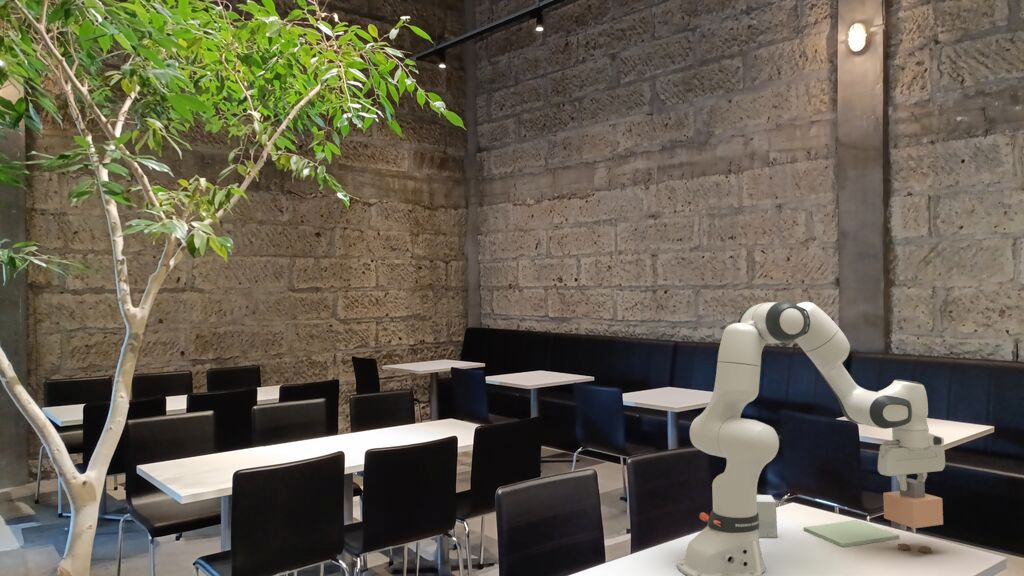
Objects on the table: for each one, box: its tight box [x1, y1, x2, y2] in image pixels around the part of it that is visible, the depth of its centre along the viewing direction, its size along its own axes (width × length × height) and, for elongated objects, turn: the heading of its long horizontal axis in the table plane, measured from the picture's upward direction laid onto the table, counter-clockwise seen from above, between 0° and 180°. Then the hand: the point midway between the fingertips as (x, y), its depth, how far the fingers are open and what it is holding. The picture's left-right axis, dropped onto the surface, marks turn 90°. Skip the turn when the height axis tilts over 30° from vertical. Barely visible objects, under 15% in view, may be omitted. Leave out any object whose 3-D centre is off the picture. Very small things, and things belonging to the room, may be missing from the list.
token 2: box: [918, 545, 932, 555], centre depth 196 cm, size 3×3×1 cm
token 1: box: [897, 543, 912, 552], centre depth 198 cm, size 3×3×1 cm
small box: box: [757, 494, 778, 538], centre depth 214 cm, size 8×6×10 cm
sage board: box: [803, 519, 901, 548], centre depth 211 cm, size 20×16×1 cm
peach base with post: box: [882, 477, 944, 529], centre depth 197 cm, size 10×10×11 cm
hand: (912, 489), depth 197 cm, fingers closed on peach base with post, 3 cm apart
